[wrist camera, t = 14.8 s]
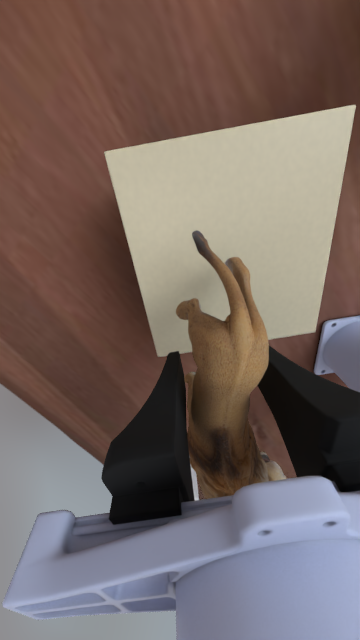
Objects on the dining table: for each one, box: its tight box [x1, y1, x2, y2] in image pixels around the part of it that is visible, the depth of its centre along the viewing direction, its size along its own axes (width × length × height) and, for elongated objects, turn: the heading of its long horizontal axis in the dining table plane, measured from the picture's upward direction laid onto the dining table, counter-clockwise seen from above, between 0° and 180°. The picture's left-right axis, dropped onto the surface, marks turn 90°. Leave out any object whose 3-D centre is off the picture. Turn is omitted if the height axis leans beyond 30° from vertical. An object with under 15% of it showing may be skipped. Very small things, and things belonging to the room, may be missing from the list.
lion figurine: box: [176, 230, 287, 499], centre depth 12 cm, size 15×5×9 cm, turn 12°
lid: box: [104, 105, 356, 357], centre depth 15 cm, size 13×13×1 cm
